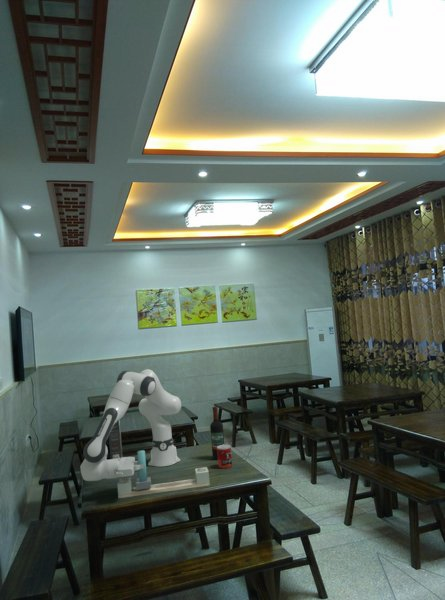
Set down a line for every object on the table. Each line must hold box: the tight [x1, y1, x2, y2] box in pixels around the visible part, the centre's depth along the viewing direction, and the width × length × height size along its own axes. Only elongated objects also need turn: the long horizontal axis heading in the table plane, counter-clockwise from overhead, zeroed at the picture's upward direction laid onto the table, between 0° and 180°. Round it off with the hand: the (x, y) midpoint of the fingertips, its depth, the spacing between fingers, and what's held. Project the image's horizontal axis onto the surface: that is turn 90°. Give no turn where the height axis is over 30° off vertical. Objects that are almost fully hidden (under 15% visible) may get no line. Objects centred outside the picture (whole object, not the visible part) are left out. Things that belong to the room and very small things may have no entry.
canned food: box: [217, 444, 233, 470], centre depth 250 cm, size 8×8×11 cm
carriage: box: [135, 449, 152, 490], centre depth 222 cm, size 7×7×17 cm
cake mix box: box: [108, 418, 123, 459], centre depth 272 cm, size 22×6×30 cm, turn 12°
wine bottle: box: [209, 406, 225, 461], centre depth 267 cm, size 8×8×30 cm
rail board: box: [116, 466, 211, 499], centre depth 223 cm, size 8×44×7 cm, turn 99°
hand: (143, 464), depth 222 cm, fingers closed on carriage, 4 cm apart
